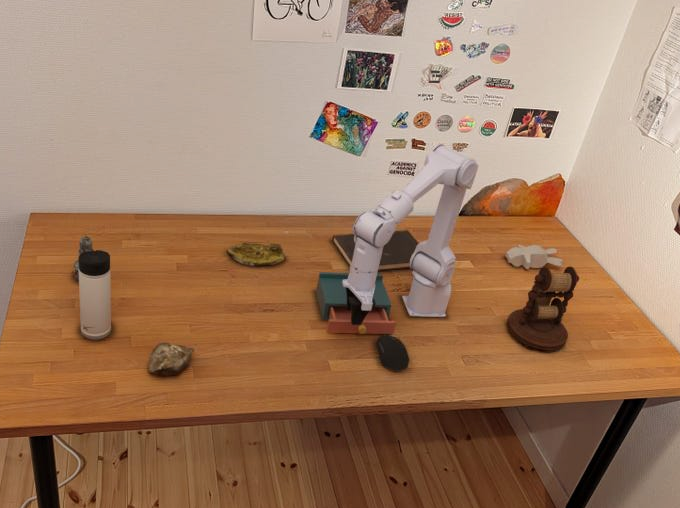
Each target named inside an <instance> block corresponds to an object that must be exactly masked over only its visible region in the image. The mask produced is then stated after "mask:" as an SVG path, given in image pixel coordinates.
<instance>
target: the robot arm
mask: <svg viewBox="0 0 680 508" xmlns="http://www.w3.org/2000/svg"><path fill="white" fill-rule="evenodd" d="M478 169H479V165H478V163H477V161H476V160H475V159H473V158H470V157H468V156H466V155H464V154H462V153H460V152H458V151H457V150H454V149H452V148H451V147H448V146H446V145H445V144H444V143H437V144H436V145H434V146H433V147H432V148H431V149H430V150H429V151H428V152H427V154H426V157H425V159H424V163H423V167H422V168H421V169H420V170H419V171H418V173H417V174H416V175H414V177H413V178H412V179H411V180H410V181H409V182H408V183H407V184H406V186H405V187H404V188H403V189H402V190H401V189H400V190H399V189H396V190H393V191H392V192H391V193H390V194H389V195H388V196H386V197H385V198H384V199H383V200H382V201H381V202H380V203H379V204H377V206H375V207H374V209H372V210H369V211H363V212H361V213H360V214H359V215H358V216H357V218H356V220H355V222H354V224H353V225H352V234H354V242H355V243H356V245H355V249H354V254H353V259H352V263H351V265H350V267H349V272H348V273H349V276H348V278H345V279H344V280H343V281H342V284H343V286H344V287H346V294H347V309H348V310H351V323H352V325H361V324H362V322H363V320H364V319H365V317H366V315H367V314H368V312H369V311H371V309H373V308H374V307H375V305H376V302H375V299H372V298H373V294H374V290H375V281H376V277H377V274H378V272H379V271H378V268H379V264H380V259H381V255H382V251H383V246H384V245H385V244H387V243H388V241H389V240H390V238H391V237H392V234H393V233H394V232H395V231H397V226H399V224H400V223H402V221H404V220H405V219H406V218H407V217H408V216H409V215H411V213H412V212H413V211H414V209H415V208H414V203H415V202H417V201H418V200H420V199H421V198H422V197H423V196H425V195H426V194H428V193H429V192H430V191H431V190H432V189H434V188H435V187H437V185H443V187H442V191H441V193H440V194H441V195H440V197H439V201H438V204H437V207H436V211H435V214H434V217H433V221H432V224H431V227H430V231H429V234H428V237H427V239H426V240H423V241H420V242H418V243H419V244H418V245H417V246H416V249H415V251H414V253H413V254H412V256H411V258H410V268H409V269H411V275H413V278H412V281H411V284H410V285H411V286H410V289H409V293H408V295H402V296H401V298H402V301H403V303H404V307H405V308H406V311H407V314H408V316H409V317H418V318H419V317H422V318H423V317H424V318H425V317H427V318H445V317H447V315H446V311H447V308H448V305H449V301H450V299H451V294H452V284H451V283H452V282H451V280H452V279H453V276H454V274H455V270H456V269H455V264H456V260H457V258H456V257H457V256H456V255H455V254H454V252H453V250H452V249H451V247H450V243H451V239H452V237H453V233H454V231H455V227H456V224H457V220H458V218H459V214H460V211H461V208H462V205H463V201H464V198H465V196H466V192H467V190H471V189H472V187H473V185H474V182H475V178H476V176H477V173H478Z"/></svg>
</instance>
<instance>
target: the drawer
mask: <svg viewBox="0 0 680 508" xmlns="http://www.w3.org/2000/svg"><path fill="white" fill-rule="evenodd" d="M328 315H329V320H327V321H328V322H327V327H326V333H328V334H360V335H364V334H368V335H369V334H370V335H371V334H373V335H383V334H386V335H393V334H394V331H395V327H396V324H397V323H396V320H389V317H387V314H386V311H385V309H384V307H374V308H373V309H371V311H369V312H368V314H367V315H366V317H365V319H364V320H363V322H362V324H361V325H352V323H351V310H348V309H347V306H329V311H328Z"/></svg>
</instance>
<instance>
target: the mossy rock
mask: <svg viewBox="0 0 680 508" xmlns="http://www.w3.org/2000/svg"><path fill="white" fill-rule="evenodd" d="M226 253H227V254H228V255H229V256H230V257H231V258H232V260H234V261H236V262H237V263H238V264H242V265H245V266H250V267H261V266H262V267H263V266H264V267H265V266H267V267H268V266H274V265H277V264H279V263H281V262H282V261H284V259H285V254H284V248H283V245H282V244H280V243H269V244H268V245H266V244H259V243H251V242H250V243H249V242H241V243H240V244H235V245H232V246H230V247H228V248H227V249H226Z"/></svg>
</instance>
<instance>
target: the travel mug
mask: <svg viewBox="0 0 680 508" xmlns="http://www.w3.org/2000/svg"><path fill="white" fill-rule="evenodd" d="M77 260H79V282H78V290H79V293H78V295H79V311H80V312H79V319H80V333H81V335H82V337H84V338H85V339H88V340H91V341H99V340H102V339H105V338H106V337H108V336H109V335H110V334H111V332H112V300H111V299H112V287H111V285H112V283H111V280H112V279H111V273H112V272H111V255H110V253H109V252H107V251H106V250H100V249H95V250H94V251H89V252H87V251H86V252H83V253H81V254H80V255H79V254H78V259H77Z"/></svg>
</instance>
